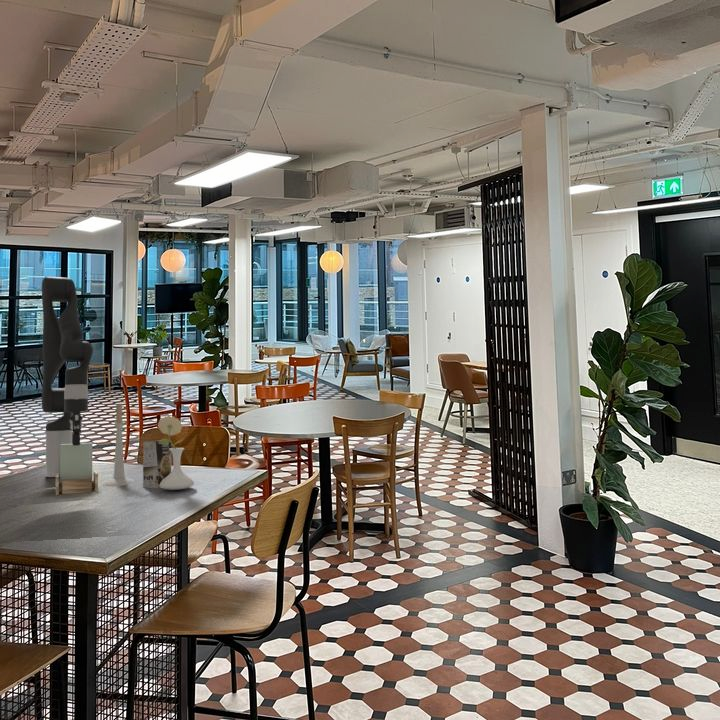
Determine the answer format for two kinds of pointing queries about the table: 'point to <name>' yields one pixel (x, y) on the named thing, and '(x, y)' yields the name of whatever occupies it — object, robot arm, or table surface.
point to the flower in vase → (174, 456)
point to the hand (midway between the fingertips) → (76, 444)
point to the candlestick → (118, 455)
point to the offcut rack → (94, 483)
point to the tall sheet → (75, 461)
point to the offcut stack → (76, 485)
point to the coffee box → (155, 463)
